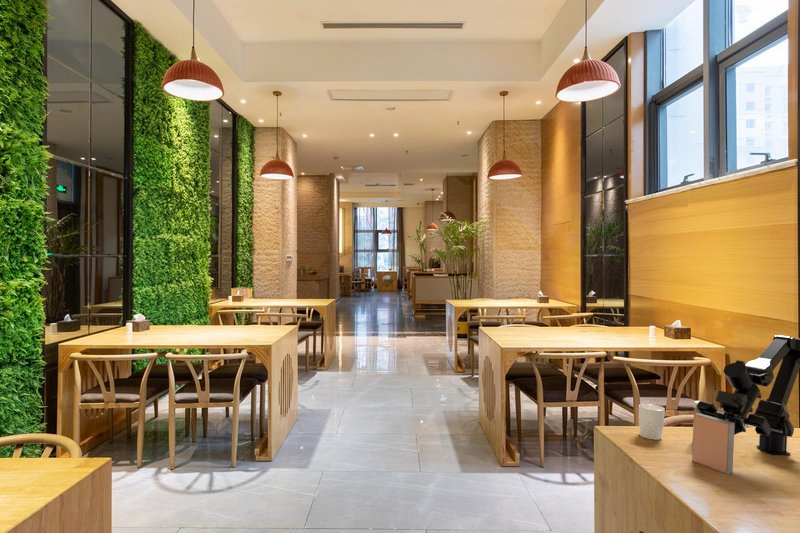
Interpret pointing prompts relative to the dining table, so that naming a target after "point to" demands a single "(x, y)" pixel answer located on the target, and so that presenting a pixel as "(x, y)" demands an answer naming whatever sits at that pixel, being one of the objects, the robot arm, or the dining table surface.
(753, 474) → the dining table surface
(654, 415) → the white cup
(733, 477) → the dining table surface
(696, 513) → the dining table surface
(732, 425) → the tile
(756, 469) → the dining table surface
